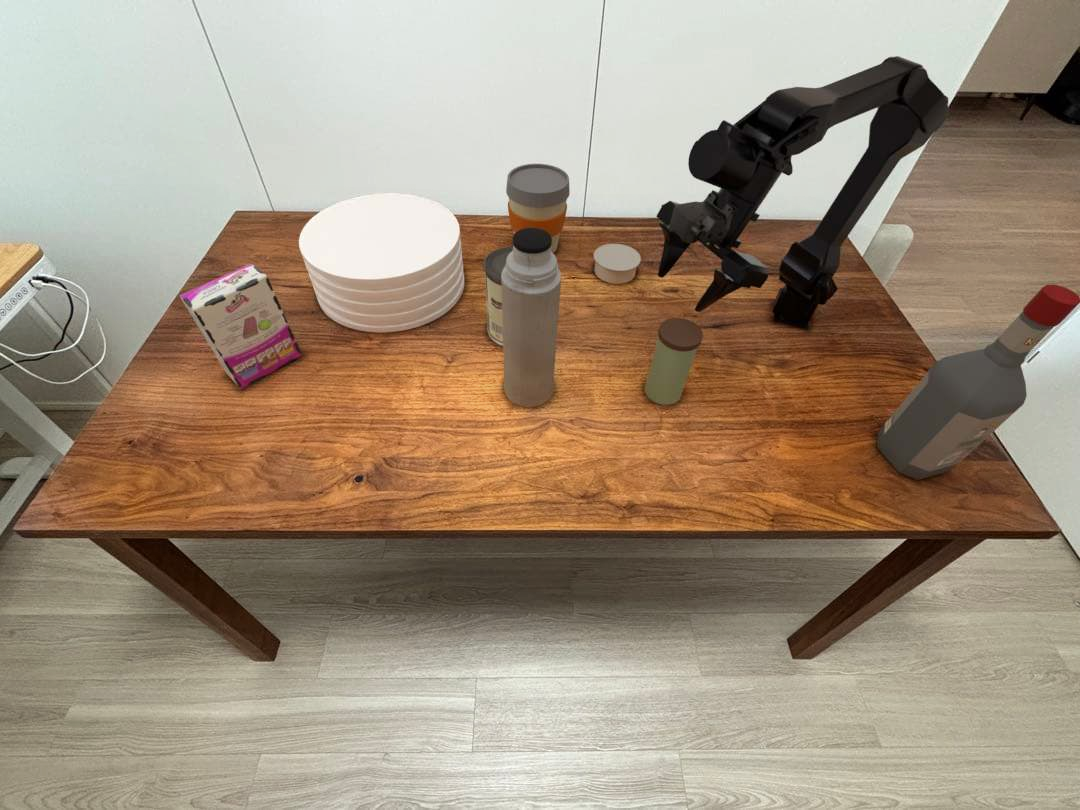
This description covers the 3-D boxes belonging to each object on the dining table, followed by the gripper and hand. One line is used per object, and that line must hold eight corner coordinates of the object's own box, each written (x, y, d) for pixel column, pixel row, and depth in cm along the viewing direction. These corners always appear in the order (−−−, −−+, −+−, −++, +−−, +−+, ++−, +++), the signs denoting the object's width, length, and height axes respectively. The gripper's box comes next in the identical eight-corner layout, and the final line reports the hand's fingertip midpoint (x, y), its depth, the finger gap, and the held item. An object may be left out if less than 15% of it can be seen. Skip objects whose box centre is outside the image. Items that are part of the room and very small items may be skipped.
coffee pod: (641, 263, 112) (644, 249, 109) (632, 289, 106) (635, 274, 103) (598, 254, 114) (600, 239, 111) (586, 279, 108) (588, 264, 105)
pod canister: (684, 382, 90) (705, 323, 80) (679, 410, 86) (700, 351, 76) (647, 373, 91) (663, 313, 81) (639, 400, 87) (655, 340, 77)
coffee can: (548, 316, 100) (552, 250, 89) (537, 353, 93) (540, 286, 83) (495, 307, 101) (492, 241, 90) (480, 343, 94) (475, 276, 84)
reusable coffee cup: (505, 230, 118) (503, 163, 107) (561, 229, 120) (565, 162, 108) (509, 263, 110) (508, 194, 99) (569, 261, 112) (575, 193, 100)
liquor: (957, 471, 80) (1132, 313, 57) (906, 485, 78) (1067, 328, 55) (913, 425, 85) (1056, 265, 63) (865, 437, 83) (995, 276, 61)
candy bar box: (287, 342, 93) (252, 261, 81) (303, 356, 91) (269, 275, 78) (225, 375, 87) (176, 293, 75) (240, 391, 85) (193, 309, 73)
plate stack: (490, 299, 103) (488, 246, 94) (350, 353, 92) (332, 299, 83) (425, 231, 117) (417, 180, 109) (297, 270, 106) (277, 217, 98)
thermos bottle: (514, 366, 91) (513, 214, 70) (559, 378, 89) (572, 226, 68) (496, 399, 86) (490, 246, 65) (543, 412, 84) (552, 260, 63)
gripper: (661, 151, 73) (607, 253, 81) (755, 217, 62) (681, 326, 71) (710, 171, 79) (655, 263, 88) (803, 234, 69) (730, 332, 77)
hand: (678, 293), depth 81 cm, fingers open, 9 cm apart
